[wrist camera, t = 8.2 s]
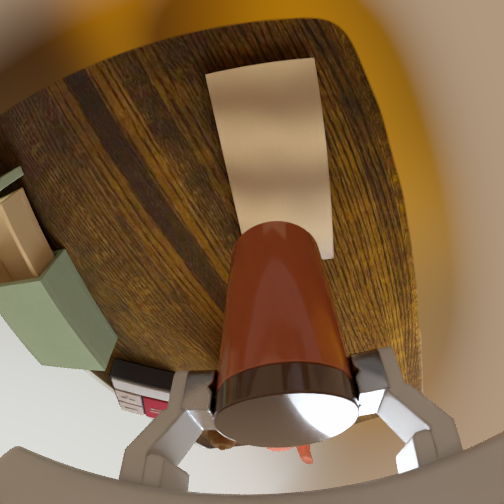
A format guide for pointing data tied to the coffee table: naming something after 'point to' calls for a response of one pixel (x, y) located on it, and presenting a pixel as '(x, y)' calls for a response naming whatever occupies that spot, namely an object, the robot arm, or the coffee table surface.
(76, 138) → the coffee table surface
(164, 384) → the calculator
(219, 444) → the fruit
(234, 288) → the spice jar
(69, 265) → the cabinet
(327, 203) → the board
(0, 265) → the drawer
